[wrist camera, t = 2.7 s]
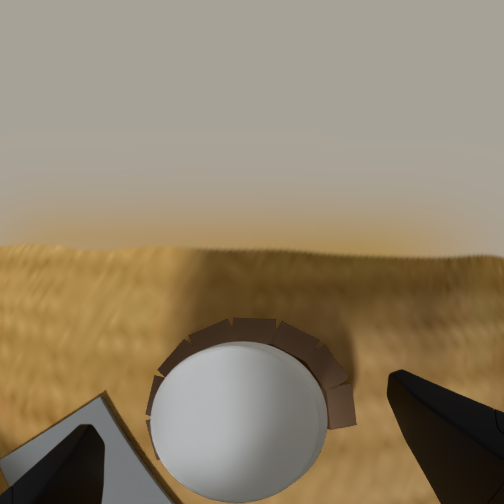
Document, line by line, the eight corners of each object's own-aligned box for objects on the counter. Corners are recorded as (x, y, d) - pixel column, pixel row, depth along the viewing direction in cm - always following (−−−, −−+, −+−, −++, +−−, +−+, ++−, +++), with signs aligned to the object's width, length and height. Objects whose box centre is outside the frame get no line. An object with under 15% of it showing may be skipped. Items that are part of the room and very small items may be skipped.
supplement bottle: (264, 348, 17) (261, 273, 8) (325, 426, 14) (394, 440, 6) (181, 401, 15) (87, 383, 7) (238, 482, 13) (204, 559, 5)
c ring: (347, 421, 14) (361, 423, 12) (168, 454, 14) (152, 460, 12) (320, 313, 17) (327, 297, 15) (152, 344, 17) (135, 334, 15)
